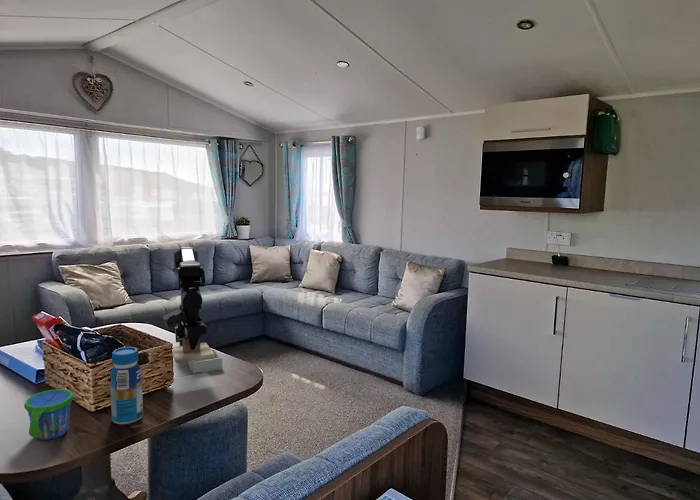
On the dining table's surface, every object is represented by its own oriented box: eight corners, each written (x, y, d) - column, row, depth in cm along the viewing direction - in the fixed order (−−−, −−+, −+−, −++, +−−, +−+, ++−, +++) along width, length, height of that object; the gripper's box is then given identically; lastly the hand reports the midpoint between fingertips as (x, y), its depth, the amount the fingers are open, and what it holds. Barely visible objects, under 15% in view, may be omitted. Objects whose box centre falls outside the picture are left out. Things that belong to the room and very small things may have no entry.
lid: (169, 350, 159) (168, 334, 158) (205, 345, 165) (205, 329, 164) (176, 362, 148) (175, 346, 148) (214, 356, 154) (214, 340, 154)
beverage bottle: (104, 420, 133) (101, 352, 130) (130, 408, 140) (128, 343, 137) (124, 428, 129) (121, 358, 126) (150, 415, 136) (148, 348, 133)
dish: (187, 365, 173) (187, 353, 173) (215, 360, 178) (214, 349, 178) (193, 375, 165) (193, 362, 164) (222, 370, 170) (222, 358, 169)
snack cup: (52, 451, 117) (50, 412, 116) (10, 449, 118) (7, 411, 116) (87, 419, 133) (86, 385, 131) (50, 418, 133) (48, 384, 132)
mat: (168, 380, 160) (168, 378, 160) (207, 373, 167) (207, 372, 167) (175, 395, 149) (175, 394, 149) (216, 387, 156) (216, 386, 156)
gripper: (159, 297, 158) (161, 342, 160) (169, 312, 142) (171, 361, 144) (194, 294, 164) (194, 338, 166) (207, 307, 148) (208, 355, 150)
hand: (191, 347), depth 156 cm, fingers closed on lid, 3 cm apart
